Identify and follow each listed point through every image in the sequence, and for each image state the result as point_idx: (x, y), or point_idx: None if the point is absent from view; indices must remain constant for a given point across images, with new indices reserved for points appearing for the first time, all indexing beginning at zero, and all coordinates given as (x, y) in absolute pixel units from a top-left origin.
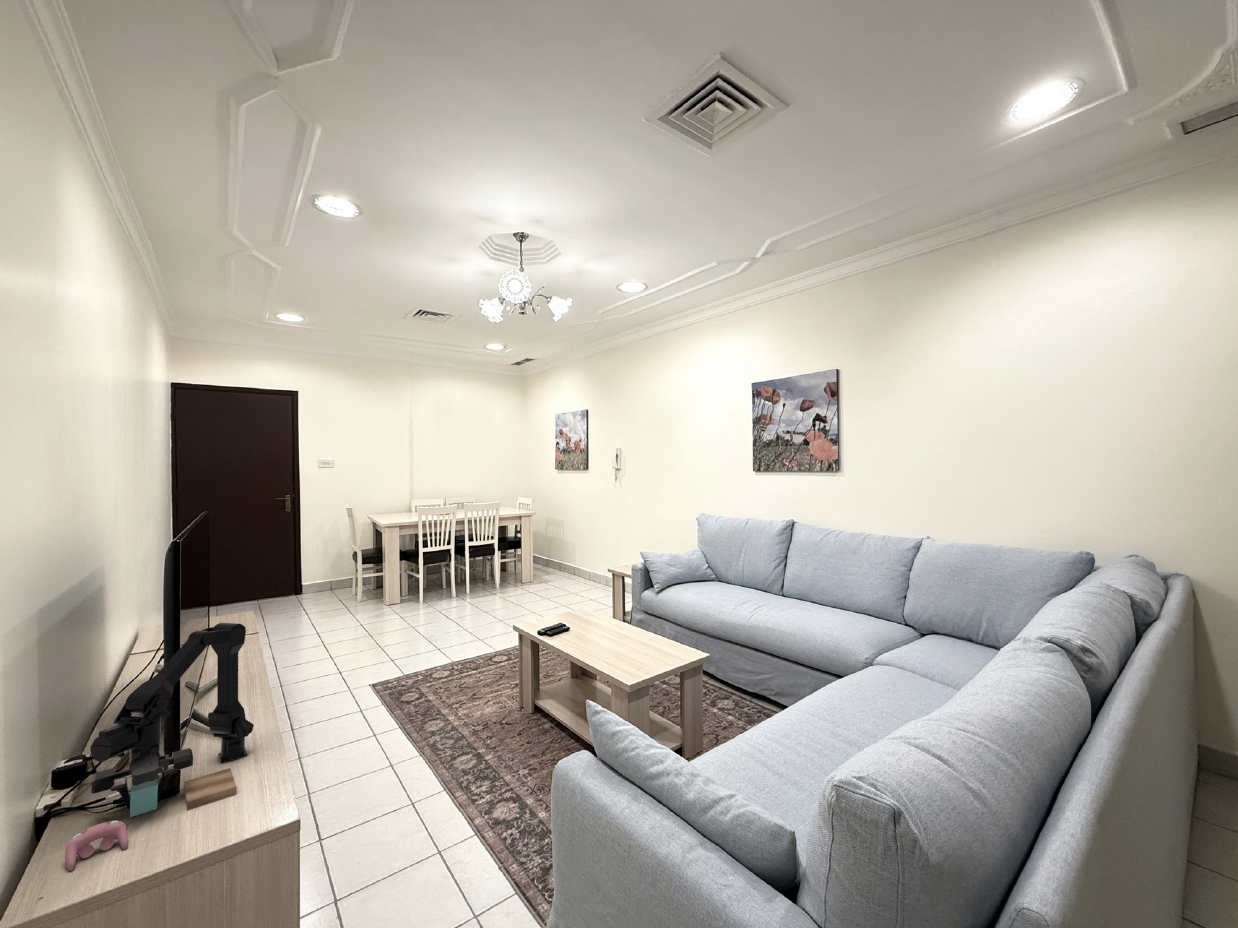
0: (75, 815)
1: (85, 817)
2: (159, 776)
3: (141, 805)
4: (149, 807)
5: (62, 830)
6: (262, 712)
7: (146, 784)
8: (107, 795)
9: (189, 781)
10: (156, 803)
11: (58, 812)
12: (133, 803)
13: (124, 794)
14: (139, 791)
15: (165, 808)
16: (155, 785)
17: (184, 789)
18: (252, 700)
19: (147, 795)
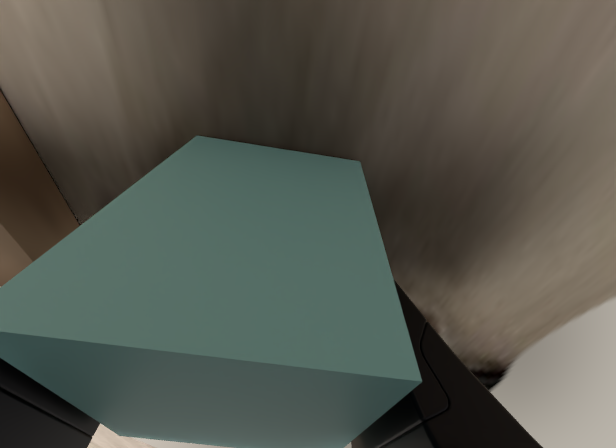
0: (476, 344)
1: (472, 315)
2: (90, 423)
3: (285, 182)
4: (236, 155)
5: (591, 288)
6: None
7: (187, 399)
8: None
9: (16, 273)
10: (181, 154)
11: (483, 378)
12: (349, 216)
13: (442, 370)
14: (284, 323)
15: (135, 87)
16: (11, 318)
17: (47, 227)
18: (91, 444)
19: (210, 229)
